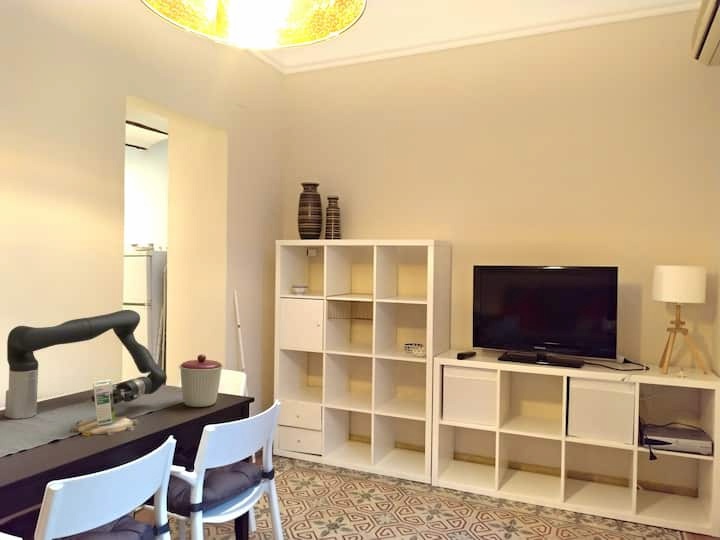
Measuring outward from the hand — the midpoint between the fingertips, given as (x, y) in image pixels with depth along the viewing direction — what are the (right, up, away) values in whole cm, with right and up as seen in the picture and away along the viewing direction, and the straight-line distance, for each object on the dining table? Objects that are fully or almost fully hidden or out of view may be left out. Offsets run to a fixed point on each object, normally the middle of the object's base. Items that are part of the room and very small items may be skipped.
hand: (103, 400), depth 195 cm
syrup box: (0, -8, +2) cm, 8 cm away
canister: (+23, -11, +38) cm, 46 cm away
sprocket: (0, -10, +2) cm, 10 cm away
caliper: (-17, -9, +53) cm, 57 cm away
